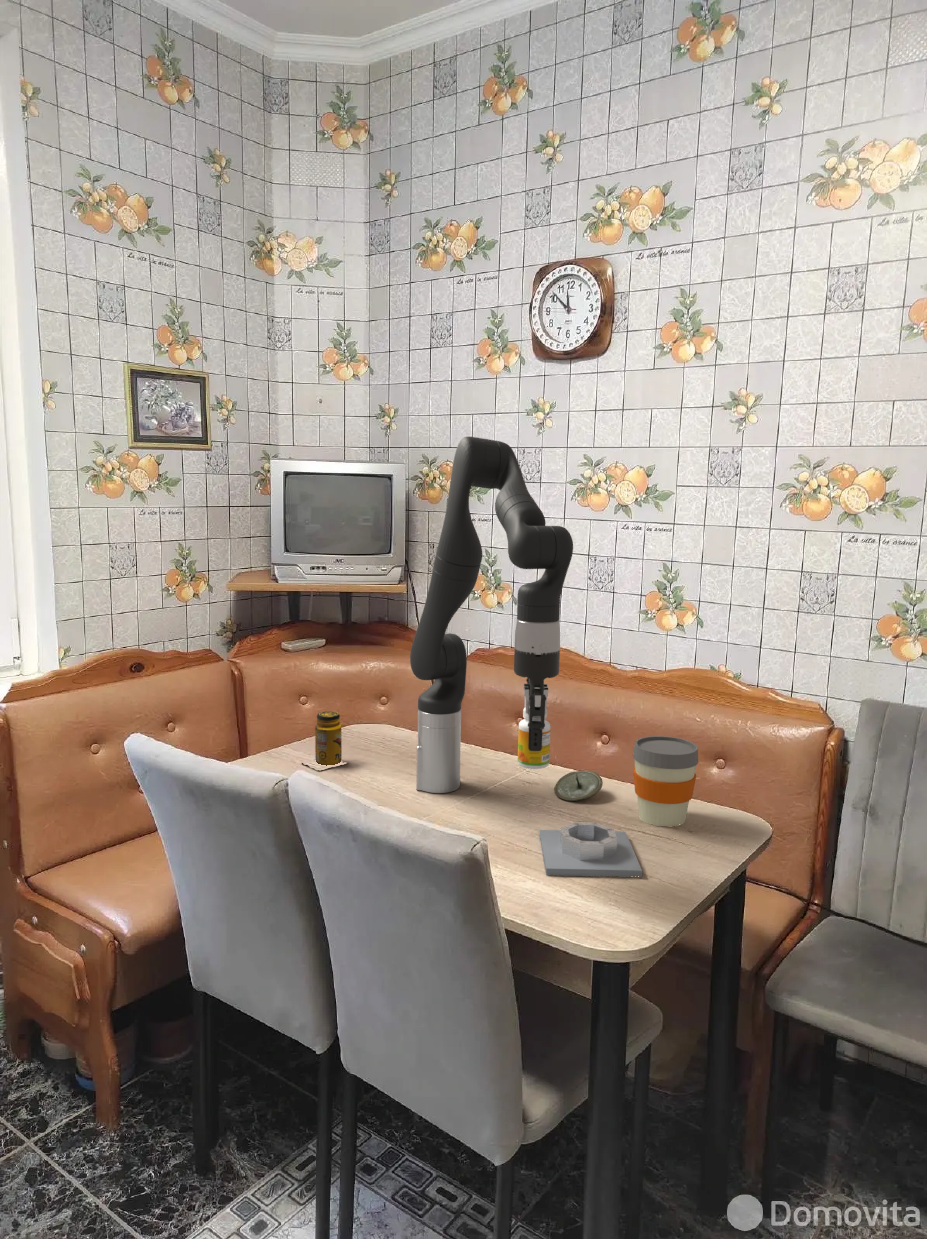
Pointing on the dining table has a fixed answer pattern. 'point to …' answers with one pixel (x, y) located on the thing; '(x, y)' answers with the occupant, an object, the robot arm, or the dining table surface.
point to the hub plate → (569, 866)
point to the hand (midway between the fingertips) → (534, 744)
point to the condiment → (328, 738)
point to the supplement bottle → (524, 754)
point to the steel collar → (588, 841)
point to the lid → (578, 785)
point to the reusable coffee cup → (664, 778)
